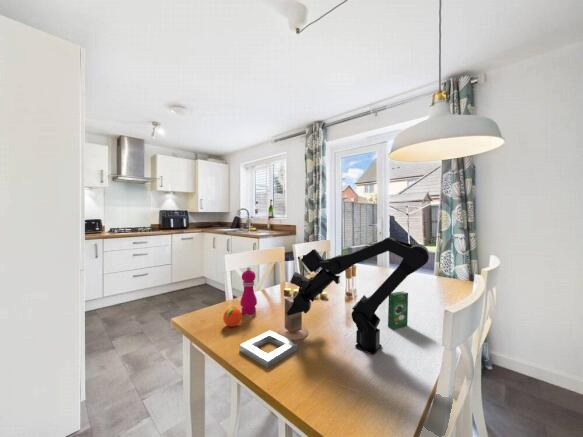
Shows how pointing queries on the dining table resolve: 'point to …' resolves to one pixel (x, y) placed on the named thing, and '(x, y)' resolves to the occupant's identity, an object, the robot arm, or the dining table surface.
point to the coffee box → (398, 310)
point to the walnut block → (292, 317)
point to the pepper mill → (248, 293)
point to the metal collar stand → (273, 357)
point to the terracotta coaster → (294, 335)
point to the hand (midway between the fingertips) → (289, 310)
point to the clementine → (232, 316)
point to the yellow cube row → (288, 291)
